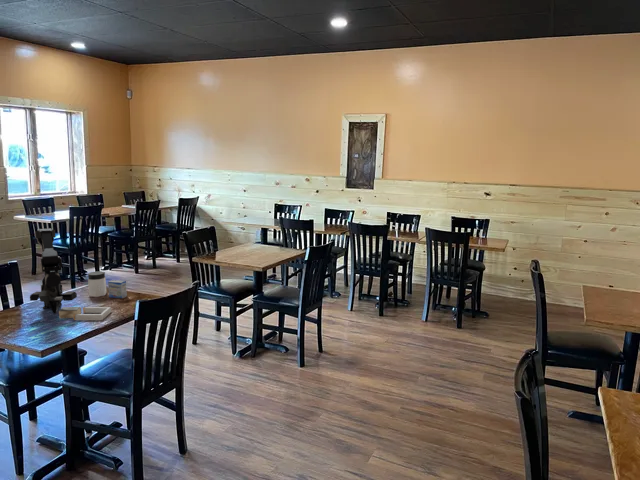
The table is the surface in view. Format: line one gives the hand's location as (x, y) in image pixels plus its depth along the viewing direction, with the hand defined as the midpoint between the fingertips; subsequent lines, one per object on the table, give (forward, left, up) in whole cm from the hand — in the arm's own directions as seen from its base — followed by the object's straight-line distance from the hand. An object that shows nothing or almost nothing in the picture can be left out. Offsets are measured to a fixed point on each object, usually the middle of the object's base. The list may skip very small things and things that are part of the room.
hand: (55, 313), depth 218 cm
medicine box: (+18, +30, -2) cm, 35 cm away
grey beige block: (+7, 0, -2) cm, 7 cm away
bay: (+17, 0, -1) cm, 17 cm away
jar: (+6, +34, -2) cm, 35 cm away
